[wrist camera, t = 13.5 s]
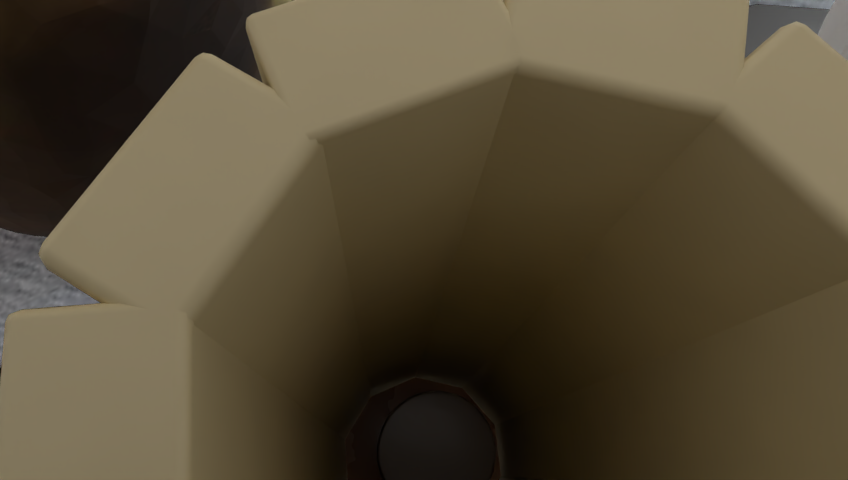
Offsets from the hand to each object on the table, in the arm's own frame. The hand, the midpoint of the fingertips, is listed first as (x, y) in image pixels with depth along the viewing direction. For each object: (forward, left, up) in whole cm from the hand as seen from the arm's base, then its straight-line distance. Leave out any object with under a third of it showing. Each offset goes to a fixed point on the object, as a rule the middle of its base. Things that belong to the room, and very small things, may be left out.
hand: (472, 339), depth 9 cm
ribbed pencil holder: (-1, 0, -7) cm, 7 cm away
